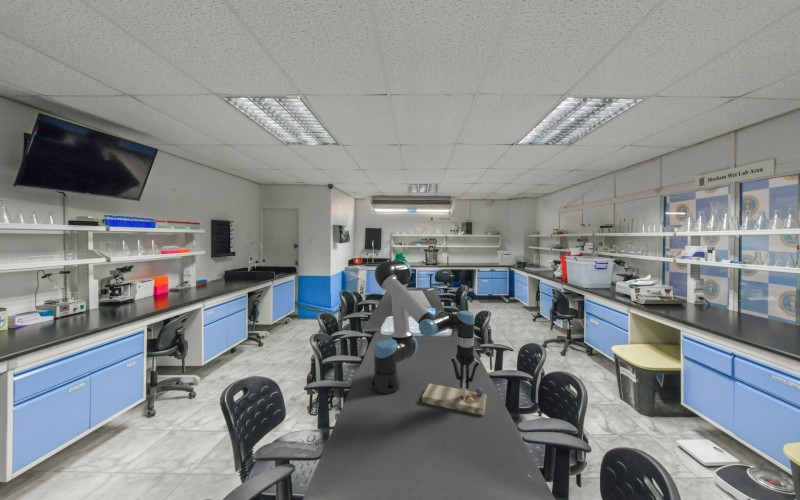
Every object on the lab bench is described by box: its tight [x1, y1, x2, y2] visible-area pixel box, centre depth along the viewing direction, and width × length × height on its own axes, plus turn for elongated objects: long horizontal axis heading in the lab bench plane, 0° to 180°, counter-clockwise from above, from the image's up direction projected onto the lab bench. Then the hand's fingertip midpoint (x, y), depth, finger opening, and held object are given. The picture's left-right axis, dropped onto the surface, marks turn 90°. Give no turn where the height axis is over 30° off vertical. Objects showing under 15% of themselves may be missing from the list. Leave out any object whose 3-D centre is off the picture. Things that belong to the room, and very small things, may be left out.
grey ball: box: [475, 387, 484, 396], centre depth 141 cm, size 4×4×4 cm
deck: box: [421, 383, 487, 417], centre depth 141 cm, size 28×13×3 cm, turn 70°
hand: (464, 394), depth 139 cm, fingers closed
